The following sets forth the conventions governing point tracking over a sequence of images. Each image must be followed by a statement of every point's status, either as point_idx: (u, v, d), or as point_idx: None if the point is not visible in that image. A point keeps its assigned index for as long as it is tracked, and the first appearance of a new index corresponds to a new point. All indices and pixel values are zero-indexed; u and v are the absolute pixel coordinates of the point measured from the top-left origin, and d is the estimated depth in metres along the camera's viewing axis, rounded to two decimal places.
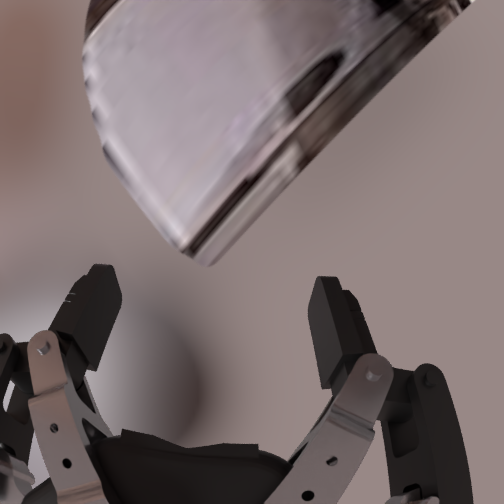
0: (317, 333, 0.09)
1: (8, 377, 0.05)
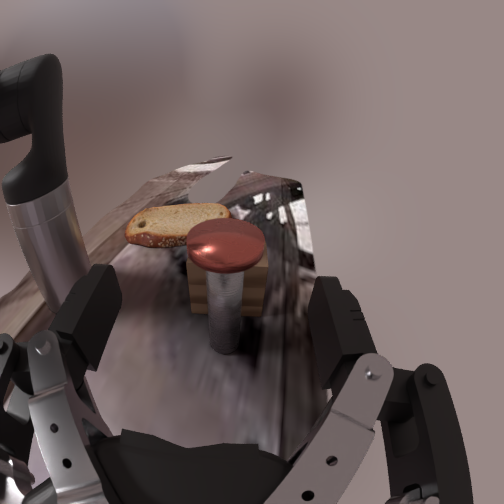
0: (317, 333, 0.09)
1: (8, 377, 0.05)
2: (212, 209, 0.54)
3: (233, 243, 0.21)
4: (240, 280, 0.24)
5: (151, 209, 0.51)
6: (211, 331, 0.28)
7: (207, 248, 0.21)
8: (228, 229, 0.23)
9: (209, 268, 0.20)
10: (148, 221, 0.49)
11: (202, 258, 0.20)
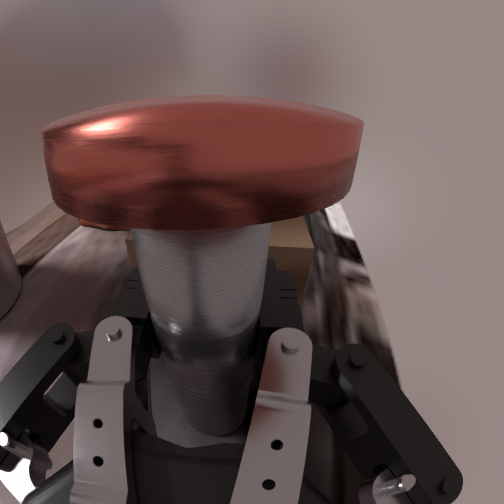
0: None
1: (58, 371, 0.06)
2: None
3: (231, 104, 0.04)
4: (256, 279, 0.06)
5: None
6: (180, 401, 0.10)
7: (104, 115, 0.03)
8: (216, 97, 0.06)
9: (84, 200, 0.03)
10: None
11: (55, 143, 0.03)
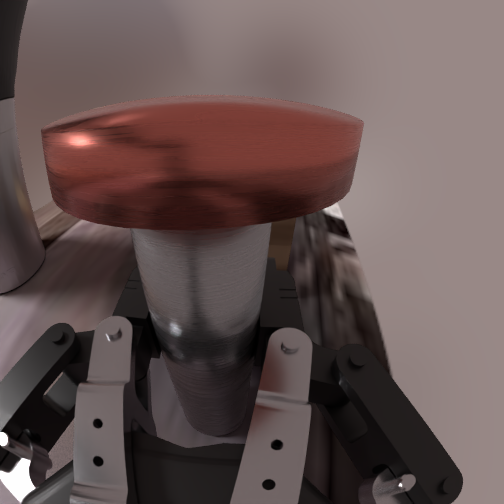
0: None
1: (58, 372, 0.06)
2: None
3: (231, 104, 0.04)
4: (256, 279, 0.06)
5: None
6: (180, 401, 0.10)
7: (104, 115, 0.03)
8: (217, 98, 0.06)
9: (84, 200, 0.03)
10: None
11: (54, 144, 0.03)
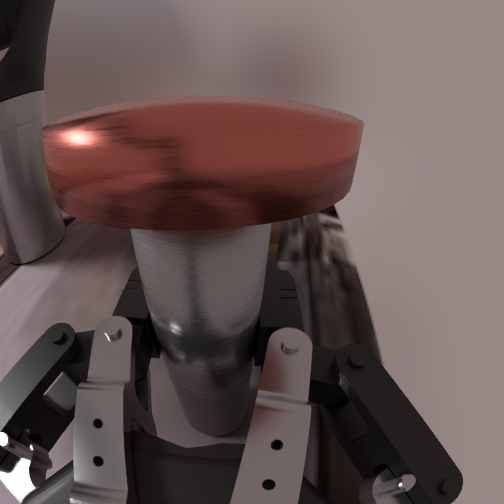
0: None
1: (58, 372, 0.06)
2: None
3: (231, 104, 0.04)
4: (256, 279, 0.06)
5: None
6: (180, 401, 0.10)
7: (104, 115, 0.03)
8: (216, 98, 0.06)
9: (84, 201, 0.03)
10: None
11: (55, 144, 0.03)
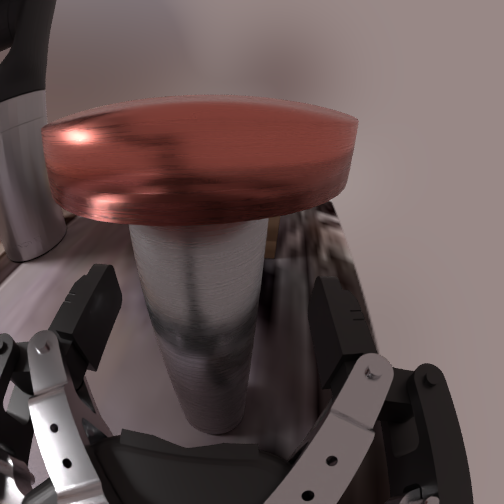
0: (317, 333, 0.09)
1: (8, 377, 0.05)
2: None
3: (227, 103, 0.04)
4: (253, 276, 0.06)
5: None
6: (179, 399, 0.10)
7: (103, 114, 0.03)
8: (214, 97, 0.06)
9: (83, 197, 0.03)
10: None
11: (55, 142, 0.03)
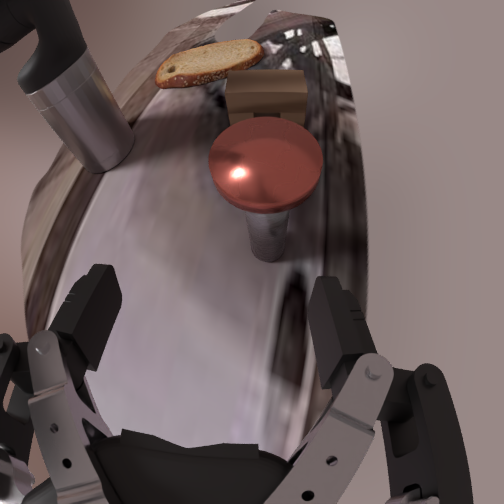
0: (317, 333, 0.09)
1: (8, 377, 0.05)
2: (242, 45, 0.41)
3: (278, 166, 0.14)
4: None
5: (178, 54, 0.39)
6: (252, 243, 0.25)
7: (241, 179, 0.14)
8: (269, 138, 0.15)
9: (246, 208, 0.14)
10: (177, 65, 0.40)
11: (236, 198, 0.14)
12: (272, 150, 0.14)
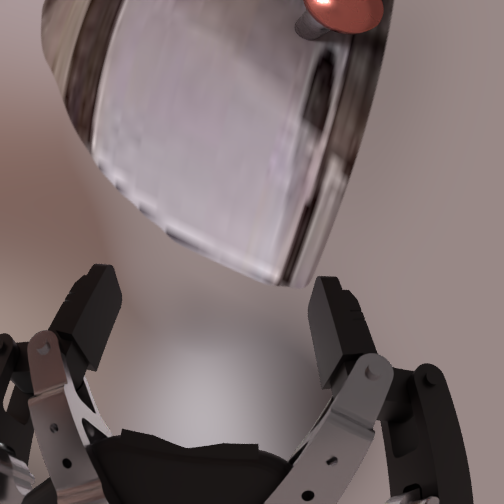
0: (317, 333, 0.09)
1: (8, 377, 0.05)
2: None
3: (354, 9, 0.13)
4: None
5: None
6: (302, 28, 0.22)
7: (329, 11, 0.13)
8: None
9: (329, 27, 0.15)
10: None
11: (325, 22, 0.14)
12: None
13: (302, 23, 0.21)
